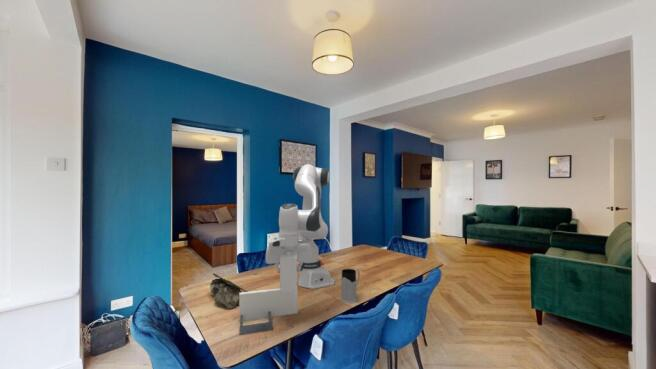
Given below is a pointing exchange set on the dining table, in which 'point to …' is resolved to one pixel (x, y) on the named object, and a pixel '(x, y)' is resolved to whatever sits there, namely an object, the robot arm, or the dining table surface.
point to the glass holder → (349, 285)
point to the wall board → (267, 304)
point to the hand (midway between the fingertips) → (288, 271)
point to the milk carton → (288, 271)
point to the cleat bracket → (256, 326)
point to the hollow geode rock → (225, 292)
